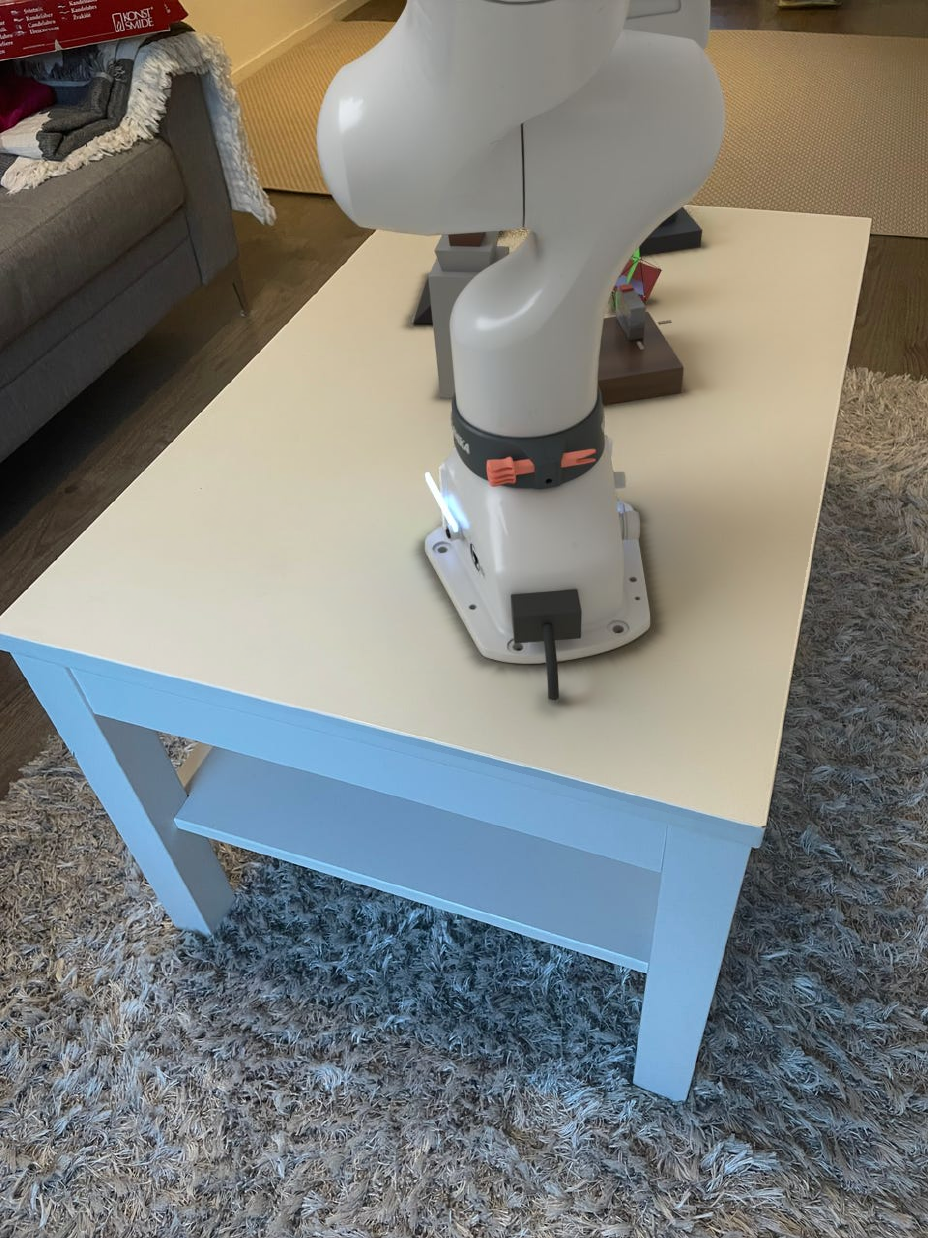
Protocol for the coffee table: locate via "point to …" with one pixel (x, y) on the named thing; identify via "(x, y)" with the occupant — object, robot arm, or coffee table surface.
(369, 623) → the coffee table surface
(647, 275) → the geometric puzzle
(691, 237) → the block
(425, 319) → the black triangular piece
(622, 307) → the grey block
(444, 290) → the perfume bottle
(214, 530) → the coffee table surface
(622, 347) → the dark brown block
